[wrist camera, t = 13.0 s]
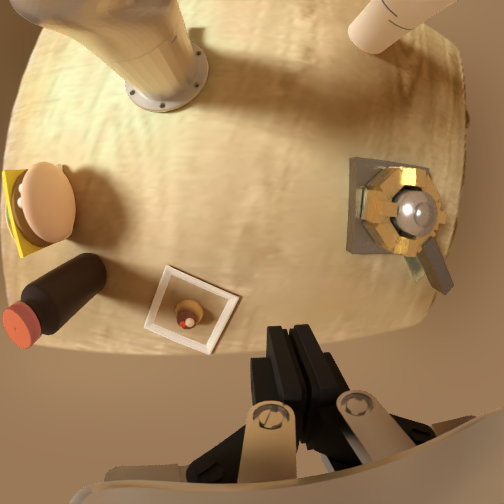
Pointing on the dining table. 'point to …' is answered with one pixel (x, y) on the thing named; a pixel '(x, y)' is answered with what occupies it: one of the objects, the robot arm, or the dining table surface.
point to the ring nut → (382, 208)
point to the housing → (408, 217)
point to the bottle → (54, 299)
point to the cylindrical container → (390, 21)
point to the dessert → (189, 312)
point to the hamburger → (38, 206)
